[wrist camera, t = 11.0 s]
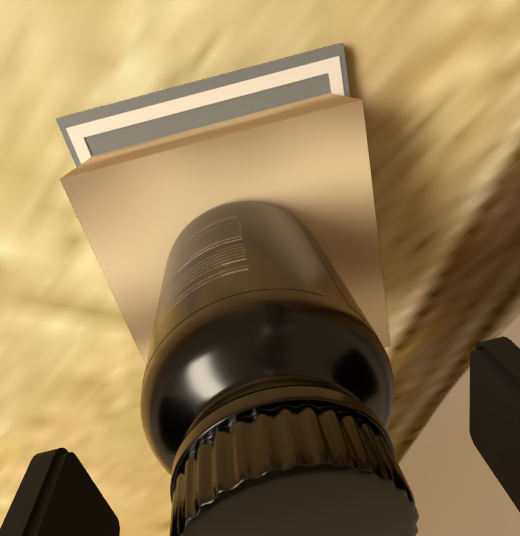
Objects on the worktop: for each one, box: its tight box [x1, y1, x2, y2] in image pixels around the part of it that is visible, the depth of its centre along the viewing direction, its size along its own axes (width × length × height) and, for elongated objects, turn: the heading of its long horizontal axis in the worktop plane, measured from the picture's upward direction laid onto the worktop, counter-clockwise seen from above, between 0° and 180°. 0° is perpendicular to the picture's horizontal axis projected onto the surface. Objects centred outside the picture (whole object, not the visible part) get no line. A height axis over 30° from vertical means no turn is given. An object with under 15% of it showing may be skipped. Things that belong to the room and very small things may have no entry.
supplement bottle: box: [140, 201, 419, 536], centre depth 13 cm, size 7×7×12 cm
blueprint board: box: [56, 43, 350, 167], centre depth 23 cm, size 16×14×1 cm
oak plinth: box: [60, 93, 391, 365], centre depth 21 cm, size 12×12×5 cm
